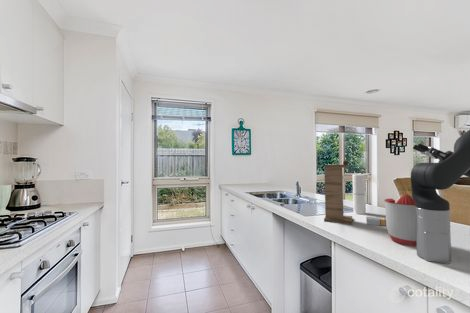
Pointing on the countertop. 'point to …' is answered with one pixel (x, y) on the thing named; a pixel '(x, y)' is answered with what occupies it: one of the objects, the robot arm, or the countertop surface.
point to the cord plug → (376, 221)
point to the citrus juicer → (401, 220)
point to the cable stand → (335, 194)
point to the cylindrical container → (359, 194)
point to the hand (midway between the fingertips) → (415, 146)
